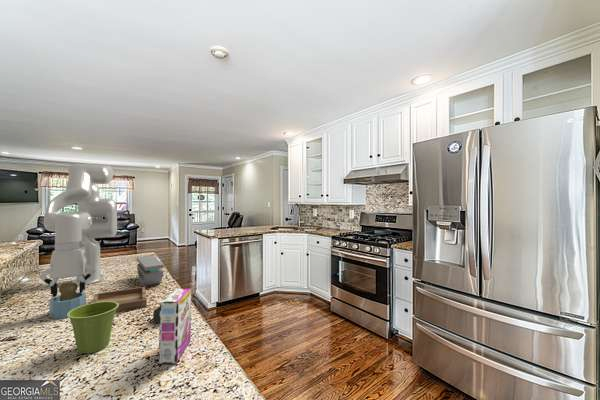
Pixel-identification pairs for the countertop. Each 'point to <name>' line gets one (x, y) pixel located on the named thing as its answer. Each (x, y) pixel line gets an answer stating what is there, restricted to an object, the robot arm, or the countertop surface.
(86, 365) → the countertop surface
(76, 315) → the plant pot
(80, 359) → the countertop surface
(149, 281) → the grey lidded box
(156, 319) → the smart speaker
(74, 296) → the olive brown bulbous cylinder
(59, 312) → the blue hollow cylinder
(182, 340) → the candy bar box
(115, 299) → the tray
